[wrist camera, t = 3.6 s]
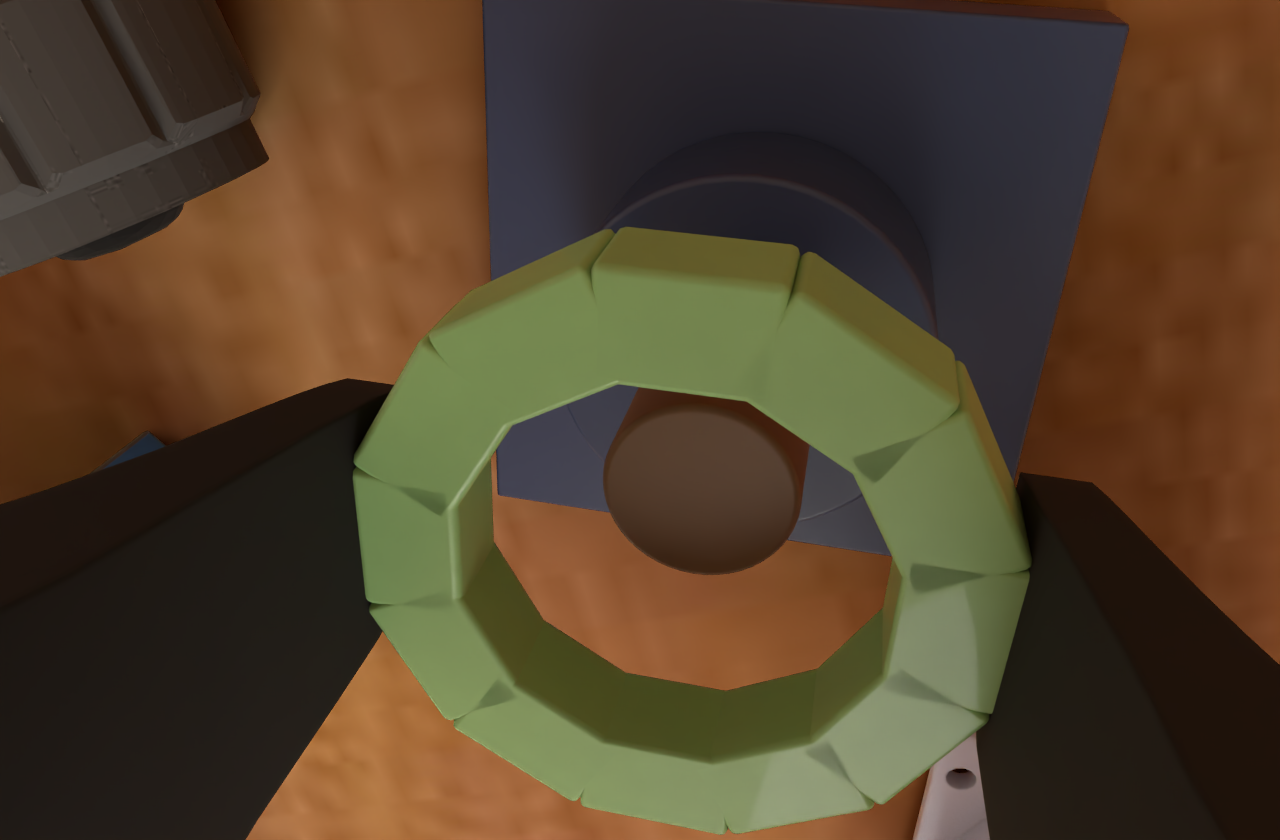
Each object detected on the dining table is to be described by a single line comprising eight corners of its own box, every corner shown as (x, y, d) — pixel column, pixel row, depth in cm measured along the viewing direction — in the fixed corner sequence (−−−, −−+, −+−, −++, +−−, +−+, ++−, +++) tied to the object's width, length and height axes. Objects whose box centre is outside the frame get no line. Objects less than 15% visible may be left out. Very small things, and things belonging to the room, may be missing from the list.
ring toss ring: (945, 802, 11) (950, 883, 10) (417, 700, 12) (380, 766, 11) (1085, 272, 8) (1108, 323, 7) (375, 197, 9) (318, 232, 8)
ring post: (985, 529, 17) (1029, 851, 12) (518, 460, 18) (359, 718, 13) (1112, 10, 13) (1270, 121, 8) (509, -30, 14) (274, 39, 9)
